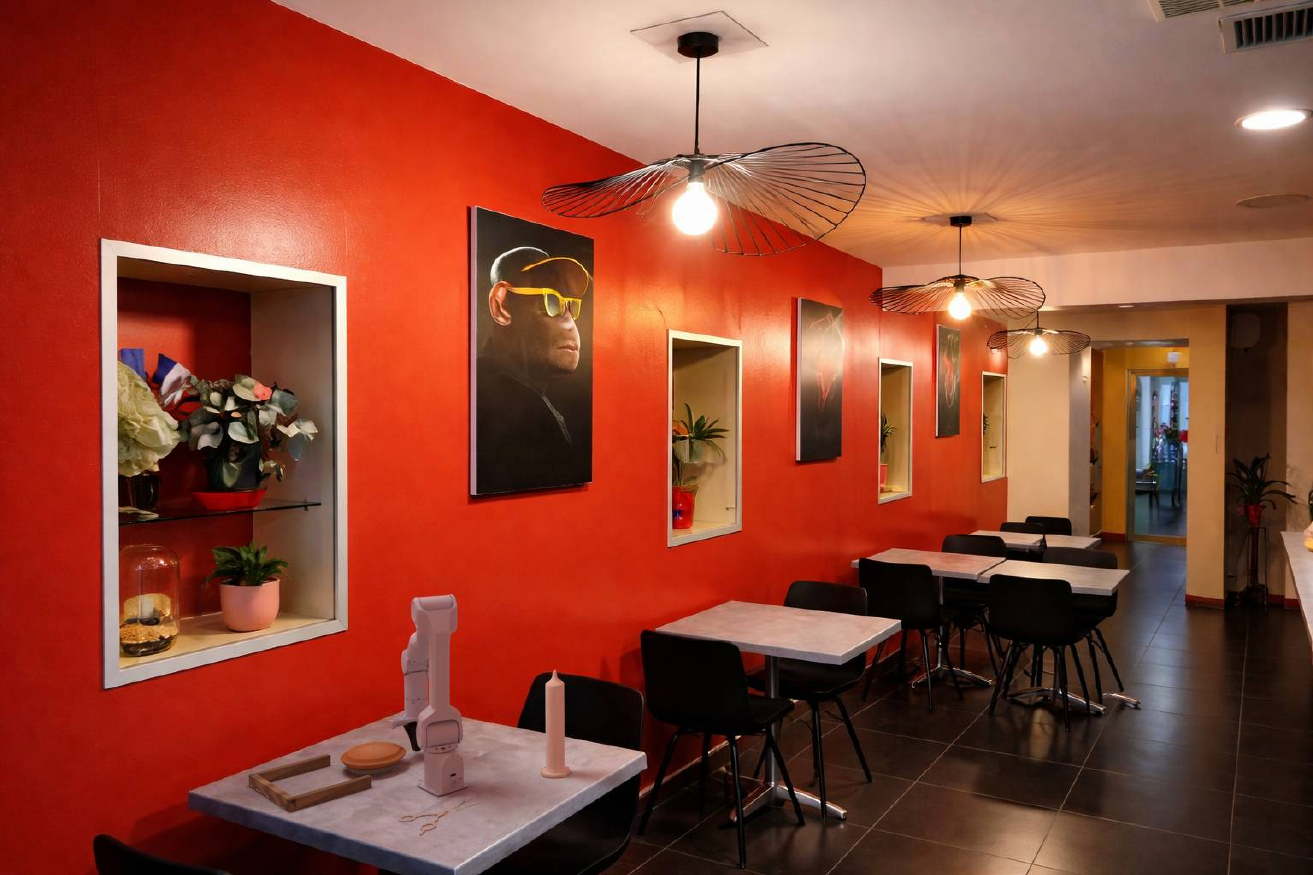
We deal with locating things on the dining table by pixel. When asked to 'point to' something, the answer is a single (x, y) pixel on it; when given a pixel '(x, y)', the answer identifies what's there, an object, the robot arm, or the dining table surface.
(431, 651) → the robot arm
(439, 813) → the scissors
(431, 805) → the dining table surface
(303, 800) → the serving rack
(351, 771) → the pie
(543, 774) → the candle
